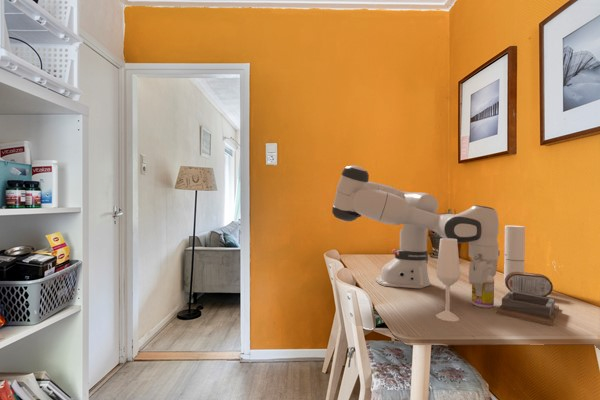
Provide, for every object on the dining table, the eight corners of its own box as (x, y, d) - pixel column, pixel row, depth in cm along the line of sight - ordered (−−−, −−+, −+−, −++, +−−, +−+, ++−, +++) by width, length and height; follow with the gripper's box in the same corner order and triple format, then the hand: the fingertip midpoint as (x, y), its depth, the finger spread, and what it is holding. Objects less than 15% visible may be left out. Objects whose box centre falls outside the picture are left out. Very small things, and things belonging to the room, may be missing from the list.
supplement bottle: (467, 302, 113) (468, 265, 113) (485, 301, 114) (485, 265, 114) (479, 308, 107) (480, 270, 107) (498, 308, 107) (499, 269, 107)
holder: (551, 325, 93) (551, 311, 93) (495, 313, 103) (496, 300, 102) (558, 308, 107) (559, 296, 107) (509, 299, 117) (509, 288, 117)
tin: (551, 296, 121) (551, 274, 121) (553, 299, 118) (554, 276, 118) (504, 291, 127) (504, 270, 127) (505, 293, 124) (505, 271, 124)
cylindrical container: (517, 282, 141) (518, 225, 140) (527, 287, 133) (528, 227, 133) (500, 282, 141) (501, 225, 141) (509, 286, 134) (510, 226, 134)
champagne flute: (432, 312, 102) (433, 237, 102) (453, 313, 102) (454, 237, 102) (440, 320, 96) (441, 240, 95) (463, 321, 95) (464, 240, 95)
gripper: (485, 258, 100) (484, 302, 101) (500, 250, 115) (500, 289, 115) (463, 255, 105) (462, 297, 105) (481, 248, 120) (480, 285, 120)
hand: (482, 293), depth 110 cm, fingers closed on supplement bottle, 7 cm apart
